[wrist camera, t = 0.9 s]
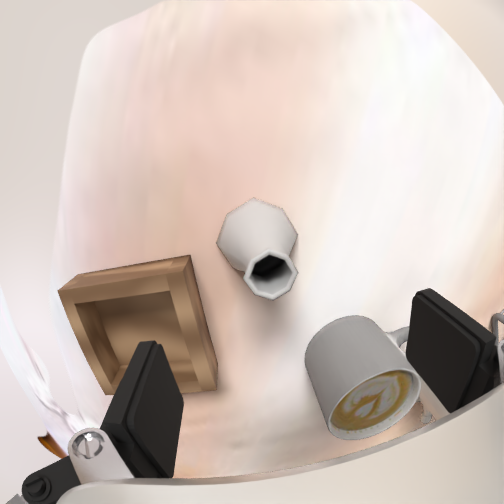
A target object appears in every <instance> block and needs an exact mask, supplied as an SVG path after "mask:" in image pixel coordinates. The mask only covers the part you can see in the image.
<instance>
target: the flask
mask: <svg viewBox="0 0 504 504" xmlns="http://www.w3.org/2000/svg"><path fill="white" fill-rule="evenodd" d="M297 235H298V234H297V232H296V230H295V229H294V227H293V225H292V224H291V222H290V220H289V218H288V217H287V215H286V213H285V212H284V210H283V209H282V208H280V207H277V206H274V205H272V204H269V203H267V202H264V201H261V200H259V199H256V198H252V199H250V200H249V201H247V202H246V203H244V204H242V205H241V206H239V207H238V208H236V209H234V210H233V211H231V212H230V213H228V214H227V215H226V218H225V220H224V223H223V226H222V229H221V231H220V234H219V237H218V240H217V242H216V244H217V245H218V247H219V248H220V250H221V251H222V253H223V254H224V255H225V257H226V258H227V260H228V261H229V263H230V264H231V266H232V267H233V268H235V269H238V270H241V271H244V272H245V275H244V277H243V279H244V280H245V282H246V283H247V285H248V286H249V288H250V289H251V290H252V292H253V293H254V295H257V296H260V297H263V298H266V299H269V300H275V299H277V298H278V297H280V296H282V295H283V294H285V293H287V292H288V291H290V290H291V288H292V285H293V283H294V281H295V279H296V277H297V274H298V271H297V269H296V268H295V266H294V264H293V263H292V261H291V259H290V258H289V254H290V252H291V250H292V247H293V245H294V242H295V240H296V238H297Z"/></svg>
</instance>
